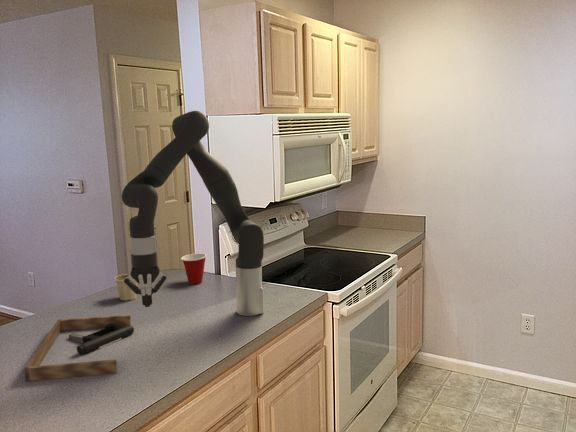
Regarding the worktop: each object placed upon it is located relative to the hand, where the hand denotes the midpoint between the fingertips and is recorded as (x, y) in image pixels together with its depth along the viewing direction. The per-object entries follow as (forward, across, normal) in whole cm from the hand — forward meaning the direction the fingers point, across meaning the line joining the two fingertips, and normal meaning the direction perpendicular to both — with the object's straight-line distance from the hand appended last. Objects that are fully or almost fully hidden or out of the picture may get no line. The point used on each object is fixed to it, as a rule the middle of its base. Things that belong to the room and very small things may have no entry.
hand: (147, 306), depth 155 cm
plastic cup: (+13, -15, -63) cm, 66 cm away
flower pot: (+12, +11, -47) cm, 50 cm away
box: (+12, +19, 0) cm, 22 cm away
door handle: (+13, +17, -8) cm, 23 cm away
